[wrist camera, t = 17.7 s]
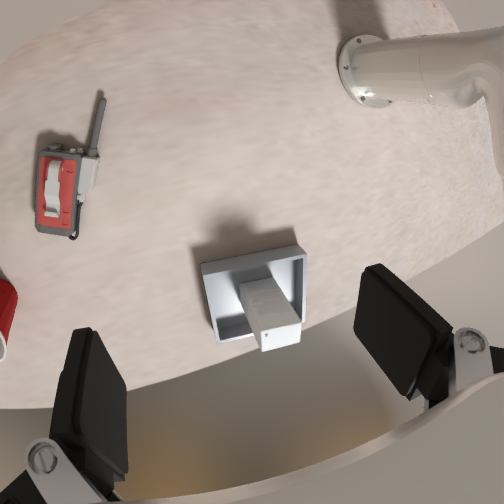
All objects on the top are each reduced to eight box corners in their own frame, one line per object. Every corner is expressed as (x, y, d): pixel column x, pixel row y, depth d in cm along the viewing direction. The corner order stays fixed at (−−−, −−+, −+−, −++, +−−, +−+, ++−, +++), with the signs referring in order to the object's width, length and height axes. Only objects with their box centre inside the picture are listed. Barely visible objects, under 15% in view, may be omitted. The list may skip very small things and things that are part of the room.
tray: (297, 244, 49) (306, 253, 46) (297, 310, 56) (304, 321, 53) (200, 263, 46) (202, 275, 43) (213, 330, 53) (217, 343, 50)
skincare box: (240, 303, 51) (260, 353, 41) (238, 282, 49) (259, 331, 38) (274, 296, 52) (300, 343, 42) (274, 276, 50) (302, 321, 40)
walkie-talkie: (91, 238, 40) (113, 99, 32) (84, 251, 36) (106, 97, 28) (39, 230, 36) (55, 93, 29) (29, 242, 33) (43, 92, 25)
